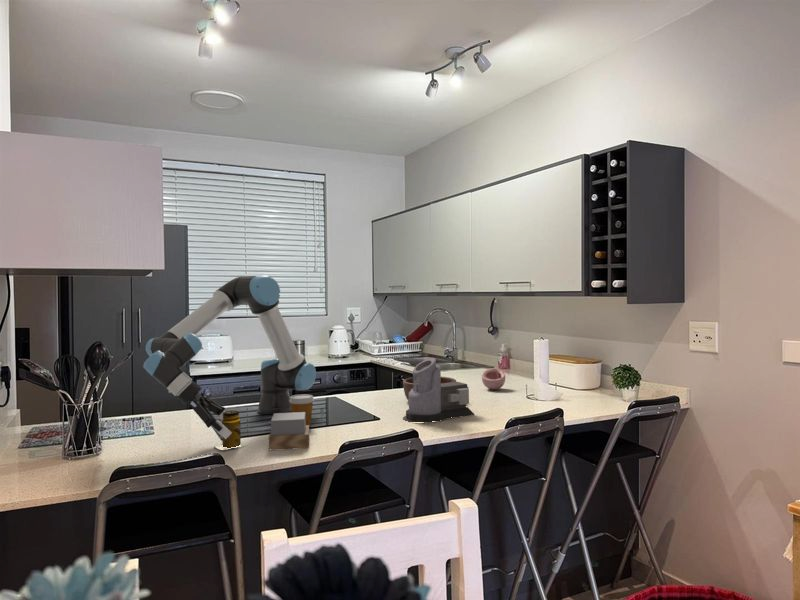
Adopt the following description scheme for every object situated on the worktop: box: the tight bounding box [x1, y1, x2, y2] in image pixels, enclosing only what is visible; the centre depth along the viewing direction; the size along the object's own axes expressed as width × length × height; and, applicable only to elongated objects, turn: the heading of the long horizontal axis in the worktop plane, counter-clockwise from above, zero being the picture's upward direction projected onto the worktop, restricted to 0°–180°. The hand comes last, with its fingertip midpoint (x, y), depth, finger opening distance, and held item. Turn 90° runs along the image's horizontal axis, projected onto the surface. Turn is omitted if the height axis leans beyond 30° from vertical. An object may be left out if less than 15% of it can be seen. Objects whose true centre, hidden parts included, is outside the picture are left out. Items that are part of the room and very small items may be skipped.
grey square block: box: [270, 412, 306, 436], centre depth 190 cm, size 11×11×5 cm
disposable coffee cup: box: [289, 393, 315, 428], centre depth 213 cm, size 10×10×12 cm
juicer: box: [402, 357, 475, 423], centre depth 228 cm, size 30×16×24 cm, turn 119°
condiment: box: [221, 410, 242, 448], centre depth 188 cm, size 7×8×12 cm
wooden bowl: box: [402, 376, 457, 402], centre depth 258 cm, size 25×25×10 cm
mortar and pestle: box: [481, 367, 506, 391], centre depth 286 cm, size 12×12×12 cm
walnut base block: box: [268, 425, 310, 450], centre depth 190 cm, size 13×13×5 cm
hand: (232, 430), depth 188 cm, fingers open, 13 cm apart
